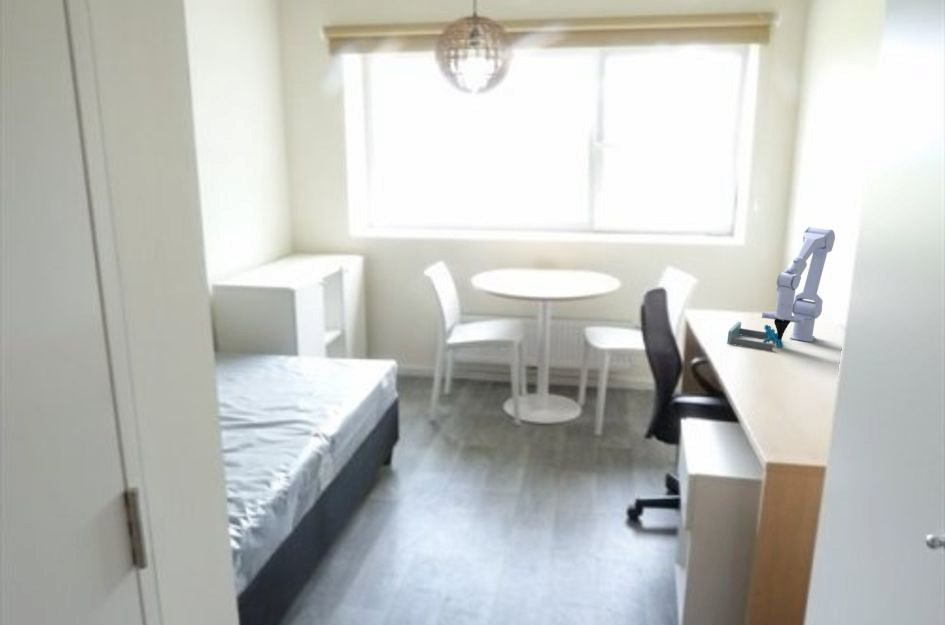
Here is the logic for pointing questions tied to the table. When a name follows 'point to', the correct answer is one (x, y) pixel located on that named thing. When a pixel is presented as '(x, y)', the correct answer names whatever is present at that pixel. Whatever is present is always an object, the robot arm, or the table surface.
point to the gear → (772, 336)
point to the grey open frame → (749, 343)
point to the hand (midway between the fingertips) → (779, 338)
